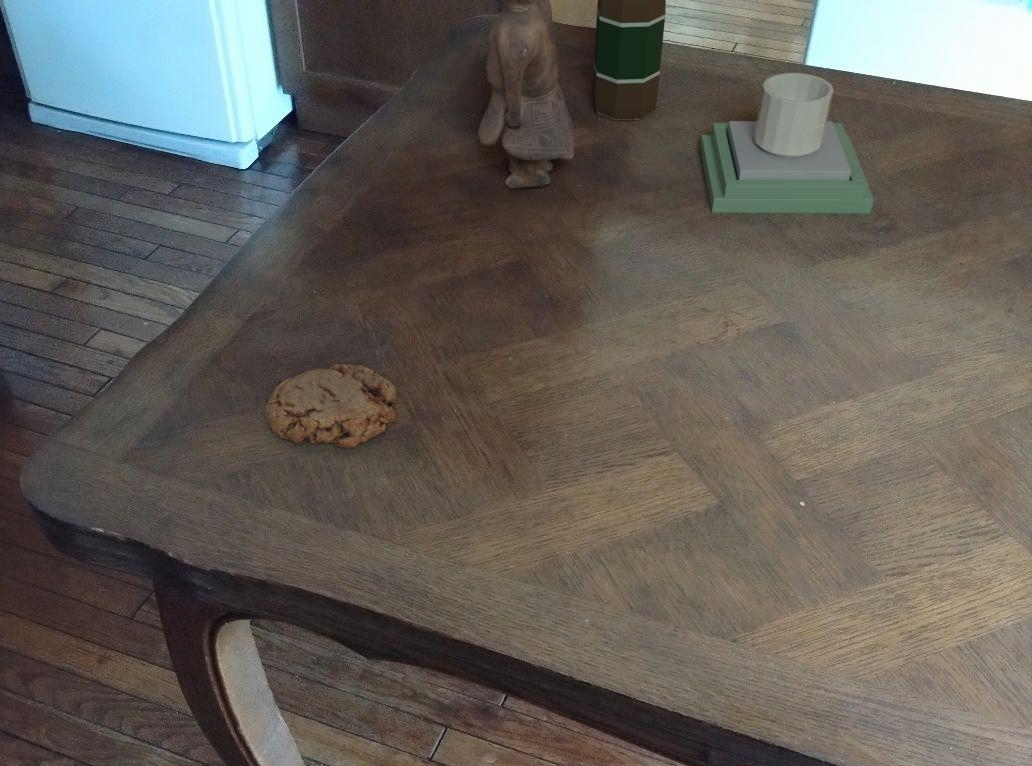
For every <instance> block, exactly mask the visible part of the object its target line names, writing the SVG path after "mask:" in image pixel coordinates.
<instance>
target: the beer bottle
mask: <svg viewBox="0 0 1032 766" xmlns="http://www.w3.org/2000/svg"><path fill="white" fill-rule="evenodd" d="M666 7H667V0H597V5H596V23H595V40H594V41H595V43H594V61H593V82H592V99H593V100H592V101H593V105H594V110H596V111H598V112H600V113H602V114H605V115H607V116H609V117H611V118H614V119H635V118H637V119H640V118H641V117H643V116H645V115H647V114H649V113H650V112H652V111H654V110H655V111H656V107H657V103H658V96H659V95H658V94H659V85H660V75H661V63H662V55H663V54H662V53H663V42H664V34H665V33H664V32H665V24H666V23H665V22H666V9H667V8H666ZM596 111H595V112H596ZM655 111H654V112H655ZM597 115H598V116H600V117H604V116H602V115H599V114H597ZM650 115H651V114H649V115H647V116H645V117H644V118H646V117H648V116H650ZM604 118H606V119H609V118H607V117H604ZM609 120H611V121H613V122H616V121H615V120H612V119H609ZM640 120H641V119H640ZM629 121H632V122H633V121H634V122H635V121H636V120H622V121H621V122H629Z"/></svg>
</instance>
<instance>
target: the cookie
mask: <svg viewBox="0 0 1032 766" xmlns="http://www.w3.org/2000/svg"><path fill="white" fill-rule="evenodd" d="M396 400H397V388H396V386H395V385H394V384H393V383H392V382H391V381H390V380H388V379H386V378H385V377H384V376H382V375H381V374H379V373H375V370H373V369H371V368H370V367H367V366H364V365H362V364H357V365H355V364H351V363H348V364H345V363H341V364H340V363H335V364H332V365H330V366H329V367H328V368H314V369H309V370H306V371H305V372H302V373H300V374H297V375H295V376H294V377H289V378H286V379H284V380H283V381H282V382H281V383H279V384H278V385H277V386H276V387H275V388H274V390H273V391H272V392H271V394H270V395H269V398H268V400H267V404H266V406H265V420H266V424H267V426H268V427H269V429H270V428H271V429H272V430H271V429H270V430H271V432H272V433H273V432H274V433H273V434H274V435H275V434H276V435H277V436H276V435H275V436H276V437H278V436H279V437H280V438H281V439H283V440H286V441H292V442H293V444H296V445H297V444H298V445H299V444H300V445H302V444H303V443H306V442H308V445H309V446H312V445H316V444H329V443H331V444H334V445H335V446H337V447H339V448H356V447H357V446H359V445H360V444H364V443H366V442H367V441H369V440H370V439H373V438H375V437H377V436H379V435H381V434H383V433H384V432H385V431H386V430H387V429H389V428H388V427H390V426H391V425H392V423H393V422H396V418H397V414H396V411H395V410H394V409H395V406H396ZM279 437H278V438H279ZM280 438H279V439H280ZM302 442H303V443H302Z"/></svg>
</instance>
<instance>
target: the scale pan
mask: <svg viewBox="0 0 1032 766" xmlns="http://www.w3.org/2000/svg"><path fill="white" fill-rule="evenodd" d="M756 122H757V120H729V121H728V122H727V123H728V130H727V134H728V139H729V143H730V147H731V152H732V156H733V160H734V165H735V169H736V174H737V178H738V180H829V181H849V178H850V174H851V170H850V167H849V164H848V162H847V159H846V157H845V154H844V151H843V149H842V146H841V143H840V141H839V138H838V136H837V133H836V130H835V128H834V125H833V123H834V122H833V121H829V120H827V124H826V128H825V133H824V138H823V142H822V145H821V146H820V148H819V149H818V150H816V151H814V152H813V153H810V154H808V155H805V156H802V157H794V158H789V157H780V156H776V155H773V154H770V153H768V152H766V151H765V150H763V149H762V148H761V147H760V146H759V145H757V144H756V142H755V138H754V134H755V128H756Z"/></svg>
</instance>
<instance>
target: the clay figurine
mask: <svg viewBox="0 0 1032 766" xmlns="http://www.w3.org/2000/svg"><path fill="white" fill-rule="evenodd" d="M493 1H494V2H499V1H500V0H493ZM505 2H506V5H505V6H504V7H503V9H502V10H501V12H500V13H499V15H498V16H497V18H496V19H495V22H494V24H493V26H492V27H491V29H490V32H489V35H488V39H489V40H488V41H489V51H488V55H487V59H486V77H487V81H488V83H489V85H490V87H491V97H490V100H489V104H488V106H487V108H486V111H485V112H484V115H483V116H482V119H481V121H480V123H479V127H478V133H477V135H478V138H479V142H480V144H481V145H482V146H483V147H494V146H495V145H497V144H498V142H499V141H500V142H501V144H502V148H503V149H504V152H505V155H506V156H507V159H508V161H509V163H510V164H509V168H508V169H509V172H510V174H509V175H508V176H507V178H506V179H505V181H504V182H505V183H504V184H505V186H507V187H508V189H511V190H516V189H523V188H542V187H545V186H547V185H549V184H550V183H551V181H550V180H551V178H550V176H549V174H548V173H549V172H550V171H552V169H553V166H554V165H553V162H551V161H552V160H562V161H563V160H564V161H570V160H572V159H573V158H574V156H575V132H574V131H575V130H574V126H573V122H572V118H571V116H570V112H569V109H568V105H567V103H566V100H565V97H564V95H563V91H562V88H561V86H560V82H559V59H558V58H559V57H558V50H557V41H556V35H555V28H554V20H553V11H552V4H551V0H505Z"/></svg>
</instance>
